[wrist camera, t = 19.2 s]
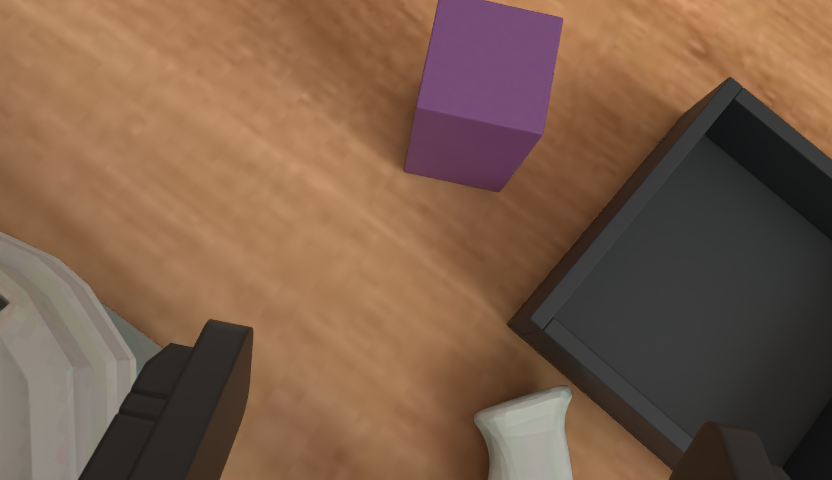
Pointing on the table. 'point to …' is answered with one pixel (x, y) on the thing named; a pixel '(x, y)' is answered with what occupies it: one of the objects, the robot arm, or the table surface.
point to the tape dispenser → (528, 436)
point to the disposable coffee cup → (58, 365)
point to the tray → (705, 290)
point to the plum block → (482, 92)
